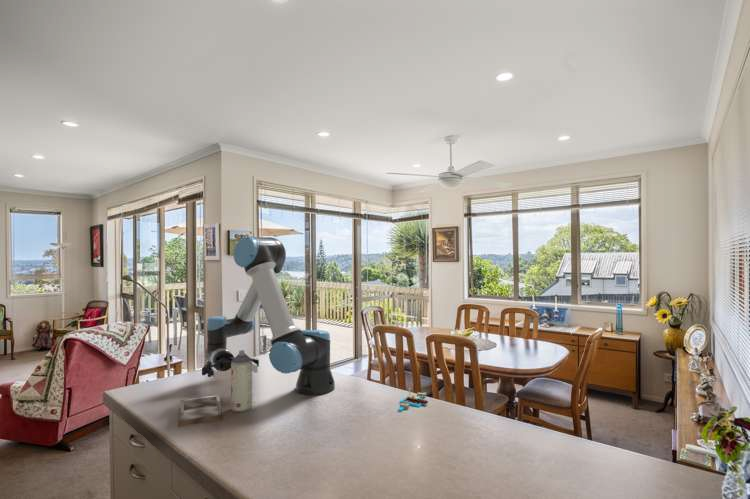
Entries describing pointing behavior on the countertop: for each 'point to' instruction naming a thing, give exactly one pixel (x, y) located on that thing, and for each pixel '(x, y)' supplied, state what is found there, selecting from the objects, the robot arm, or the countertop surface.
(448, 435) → the countertop surface
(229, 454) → the countertop surface
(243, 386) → the aerosol can
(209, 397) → the shallow tray
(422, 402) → the toy boat
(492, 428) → the countertop surface
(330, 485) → the countertop surface
